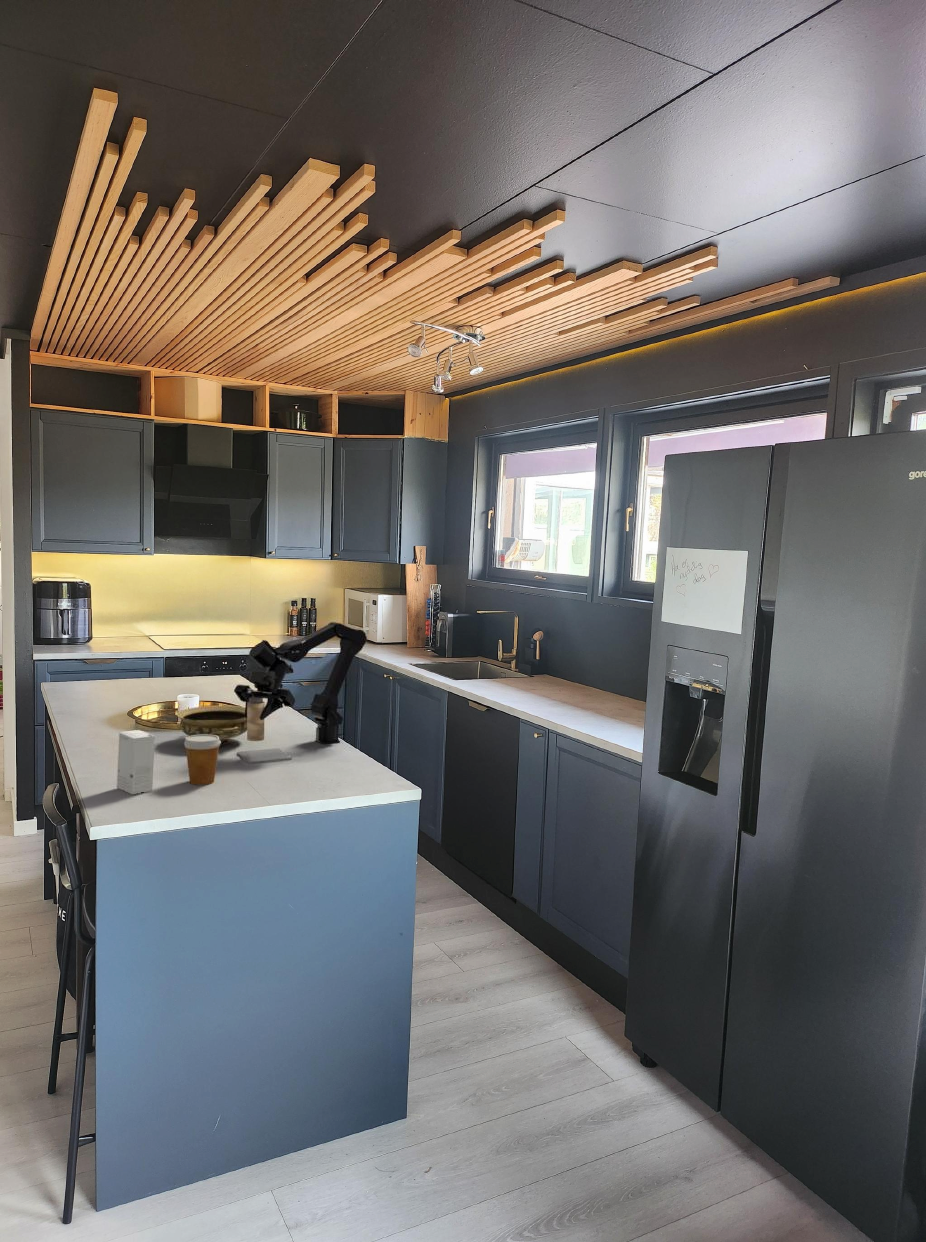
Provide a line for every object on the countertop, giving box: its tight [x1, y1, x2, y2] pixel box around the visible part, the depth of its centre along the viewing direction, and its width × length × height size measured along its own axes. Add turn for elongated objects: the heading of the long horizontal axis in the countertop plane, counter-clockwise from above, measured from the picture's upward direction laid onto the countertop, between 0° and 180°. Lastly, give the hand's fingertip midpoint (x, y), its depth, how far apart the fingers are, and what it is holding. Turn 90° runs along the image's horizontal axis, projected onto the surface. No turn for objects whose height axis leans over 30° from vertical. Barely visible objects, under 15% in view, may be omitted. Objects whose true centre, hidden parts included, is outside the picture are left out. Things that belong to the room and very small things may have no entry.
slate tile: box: [236, 747, 293, 765], centre depth 254 cm, size 13×13×1 cm
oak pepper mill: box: [246, 697, 266, 742], centre depth 251 cm, size 5×5×12 cm
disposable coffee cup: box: [183, 734, 221, 786], centre depth 225 cm, size 10×10×12 cm
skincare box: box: [116, 729, 156, 795], centre depth 215 cm, size 8×6×15 cm
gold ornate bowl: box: [176, 705, 247, 746], centre depth 269 cm, size 30×24×10 cm
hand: (253, 718), depth 250 cm, fingers closed on oak pepper mill, 5 cm apart
